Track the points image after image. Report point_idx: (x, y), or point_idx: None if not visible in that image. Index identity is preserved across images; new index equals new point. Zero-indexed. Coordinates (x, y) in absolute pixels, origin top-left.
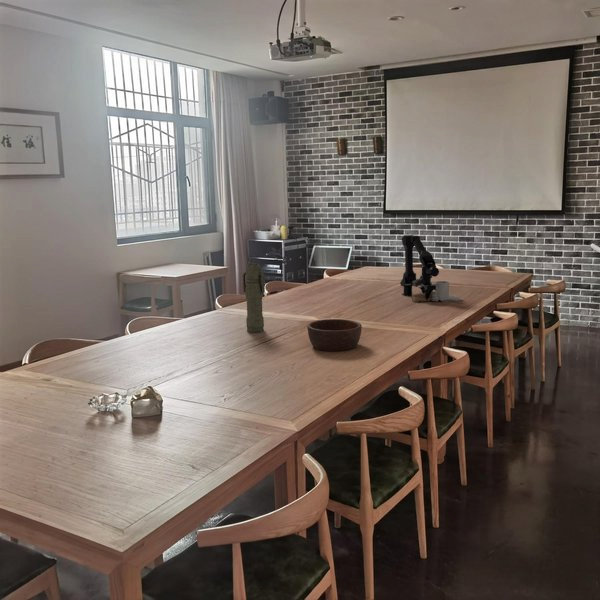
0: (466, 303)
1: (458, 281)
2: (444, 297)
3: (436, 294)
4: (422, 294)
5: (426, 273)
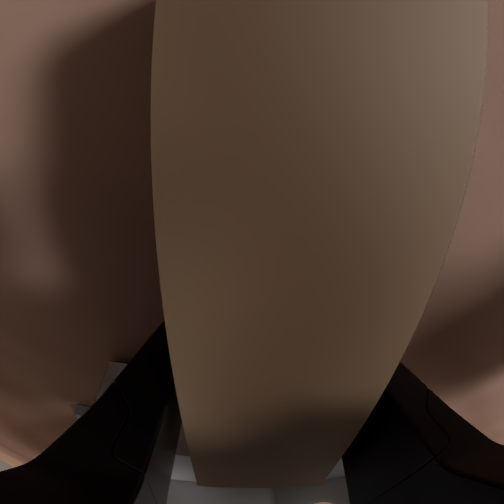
0: (35, 455)
1: None
2: None
3: (177, 487)
4: (165, 312)
5: None
